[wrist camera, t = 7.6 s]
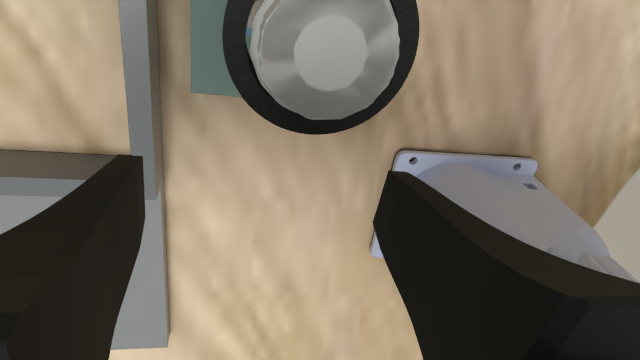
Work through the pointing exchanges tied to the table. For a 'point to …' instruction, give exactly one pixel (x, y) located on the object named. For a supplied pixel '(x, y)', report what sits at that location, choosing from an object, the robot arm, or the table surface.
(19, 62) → the table surface
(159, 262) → the equipment case
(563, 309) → the robot arm
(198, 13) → the mat
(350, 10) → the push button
